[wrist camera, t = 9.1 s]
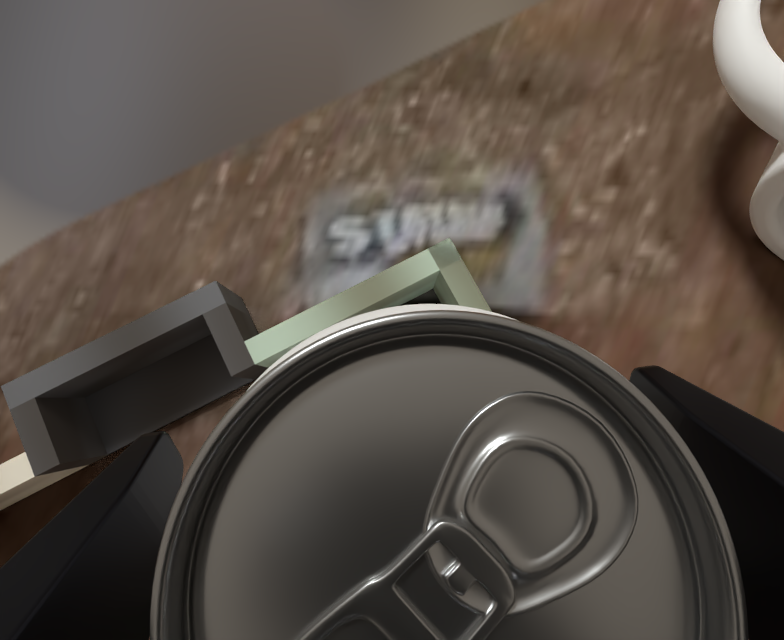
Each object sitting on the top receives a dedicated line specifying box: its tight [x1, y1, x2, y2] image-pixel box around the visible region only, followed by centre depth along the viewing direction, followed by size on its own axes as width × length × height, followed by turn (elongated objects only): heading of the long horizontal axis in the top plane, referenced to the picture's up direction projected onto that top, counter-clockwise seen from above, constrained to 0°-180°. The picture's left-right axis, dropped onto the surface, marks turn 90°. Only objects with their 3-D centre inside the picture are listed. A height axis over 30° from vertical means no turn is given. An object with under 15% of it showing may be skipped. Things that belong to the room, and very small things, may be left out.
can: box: [150, 304, 748, 640], centre depth 10 cm, size 6×6×12 cm
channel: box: [0, 238, 492, 510], centre depth 14 cm, size 22×15×2 cm
